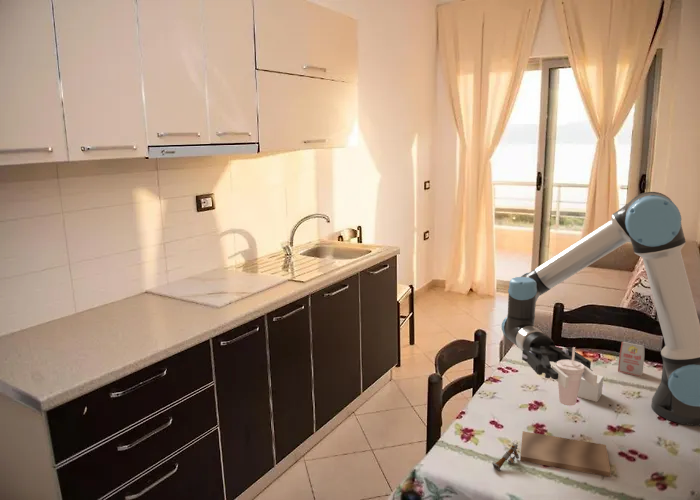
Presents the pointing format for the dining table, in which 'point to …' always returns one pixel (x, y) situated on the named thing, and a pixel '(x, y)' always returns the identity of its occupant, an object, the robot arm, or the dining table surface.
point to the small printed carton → (631, 359)
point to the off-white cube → (590, 389)
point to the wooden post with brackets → (506, 456)
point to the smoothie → (570, 379)
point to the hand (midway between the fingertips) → (581, 381)
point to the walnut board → (565, 453)
